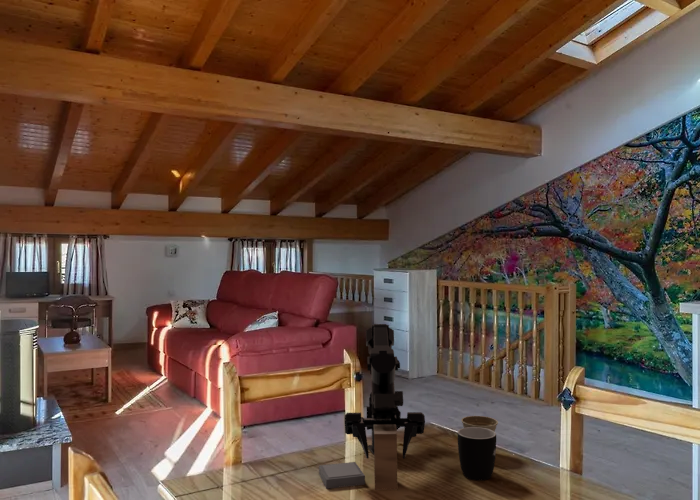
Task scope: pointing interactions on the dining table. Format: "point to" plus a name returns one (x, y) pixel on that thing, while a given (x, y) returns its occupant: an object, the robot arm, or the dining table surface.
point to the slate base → (341, 475)
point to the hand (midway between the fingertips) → (385, 457)
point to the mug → (477, 452)
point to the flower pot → (479, 422)
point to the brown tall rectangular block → (385, 456)
